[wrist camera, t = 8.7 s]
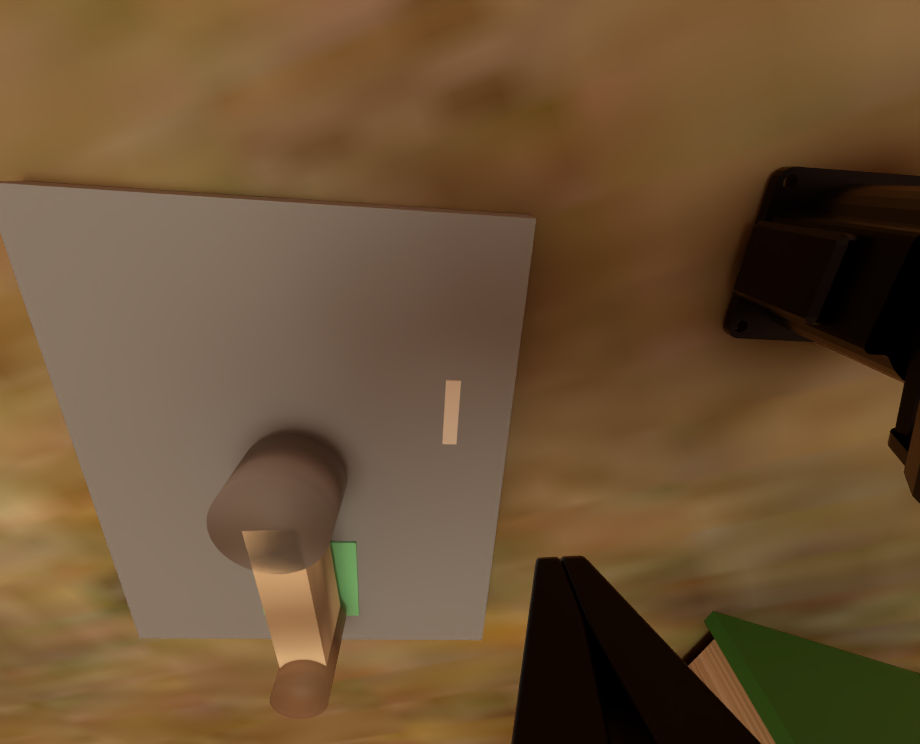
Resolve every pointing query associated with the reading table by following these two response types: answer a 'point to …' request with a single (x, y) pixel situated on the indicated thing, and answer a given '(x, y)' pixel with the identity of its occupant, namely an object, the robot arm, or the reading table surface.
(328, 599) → the lever
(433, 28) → the reading table surface
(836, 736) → the hardback book
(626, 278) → the reading table surface
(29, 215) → the dial plate
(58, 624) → the reading table surface
